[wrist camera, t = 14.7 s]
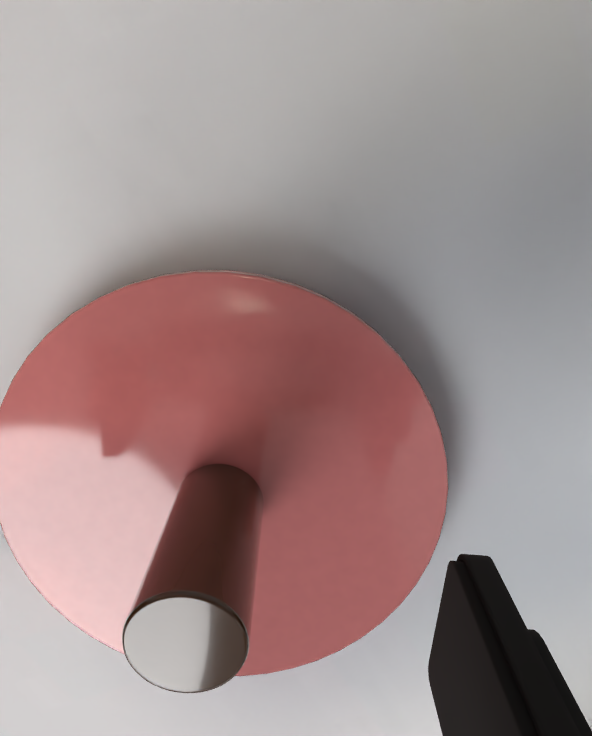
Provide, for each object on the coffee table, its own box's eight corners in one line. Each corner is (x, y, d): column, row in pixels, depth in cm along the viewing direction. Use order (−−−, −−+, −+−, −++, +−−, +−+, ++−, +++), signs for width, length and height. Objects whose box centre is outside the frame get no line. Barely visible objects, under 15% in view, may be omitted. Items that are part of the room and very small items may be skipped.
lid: (-12, 248, 14) (-238, 287, 8) (472, 284, 14) (598, 345, 8) (28, 638, 18) (-104, 856, 12) (407, 658, 18) (462, 882, 12)
